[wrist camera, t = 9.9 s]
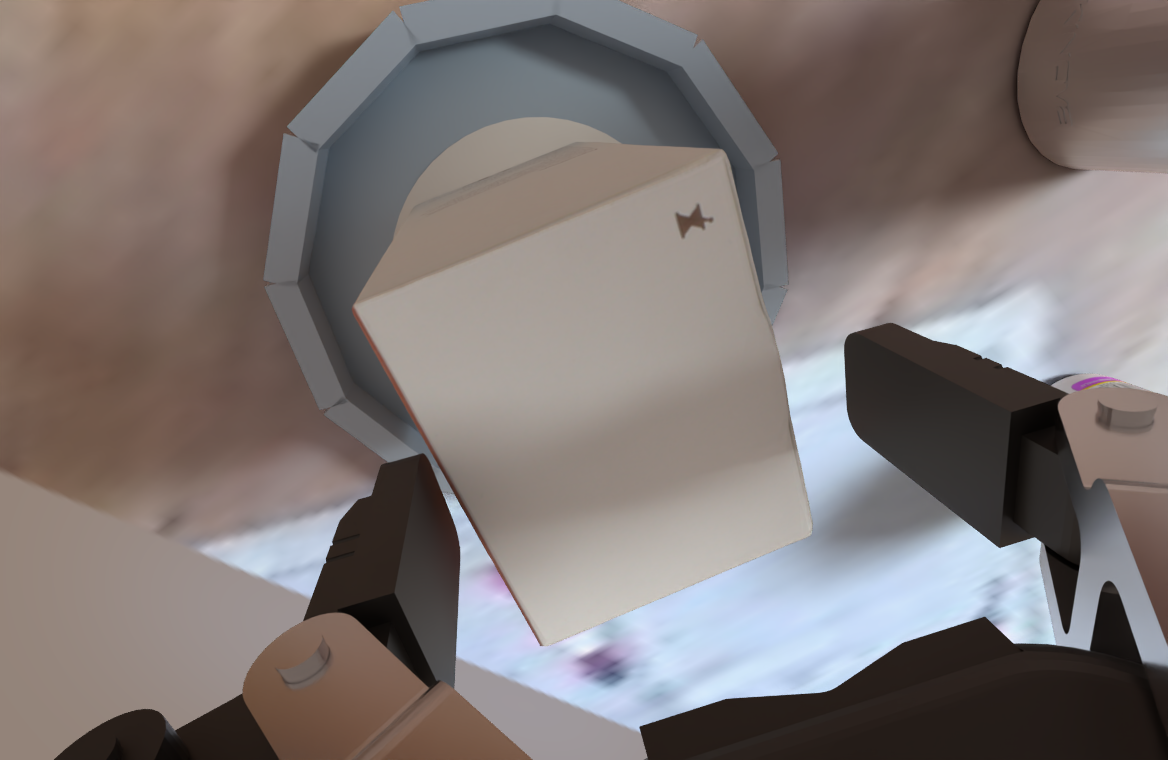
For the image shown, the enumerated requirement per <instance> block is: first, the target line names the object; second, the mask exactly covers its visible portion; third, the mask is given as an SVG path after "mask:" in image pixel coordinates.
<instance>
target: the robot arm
mask: <svg viewBox="0 0 1168 760" xmlns="http://www.w3.org/2000/svg"><path fill="white" fill-rule="evenodd" d="M1017 100H1018V105H1019V110H1020V115H1021V120H1022V123H1023V126H1024V128H1025V130H1026V132H1027V135H1028V137H1029V139H1030V141H1031V142H1032V143H1033V145H1034V146H1035V147H1036V148H1037V149H1038V151H1039V152H1040V153H1041V154H1042V155H1043V156H1044V157H1046V158H1048V159H1049V160H1051V161H1052V162H1054V163H1055V164H1057V165H1061V166H1064V167H1068V168H1072V169H1084V170H1105V171H1126V172H1146V173H1167V174H1168V0H1040V2H1039V4H1038V6H1037V8H1036V10H1035V12H1034V14H1033V16H1032V18H1031V21H1030V24H1029V27H1028V30H1027V33H1026V36H1025V39H1024V42H1023V45H1022V50H1021V56H1020V62H1019V68H1018V80H1017ZM844 357H845V378H846V400H847V412H848V417H849V420H850V423H851V425H852V427H853V429H854V431H855V432H856V434H857V435H858V436H859V437H860V439H862V440H863V441H864V442H865V443H866V444H868V445H869V446H870V447H872V448H873V449H874V450H875V451H877V452H878V453H879V454H880V455H882V456H883V457H884V458H886V459H887V460H888V461H889V462H891V463H892V464H893V465H894V466H896V467H897V468H898V469H900V470H901V471H902V472H903V473H905V474H906V475H907V476H908V477H910V478H911V479H912V480H914V481H915V482H916V483H917V484H919V485H920V486H921V487H922V488H924V489H925V490H926V491H928V492H929V493H930V494H931V495H933V496H934V497H935V498H936V499H938V500H939V501H940V502H941V503H943V504H944V505H945V506H947V507H948V508H949V509H950V510H952V511H953V512H954V513H955V514H957V515H958V516H959V517H961V518H962V519H963V520H964V521H966V522H967V523H968V524H969V525H971V526H972V527H973V528H975V529H976V530H977V531H978V532H980V533H981V534H982V535H983V536H985V537H986V538H987V539H989V540H990V541H991V542H992V543H994V544H995V545H996V546H997V547H999V548H1001V547H1005V546H1008V545H1011V544H1014V543H1017V542H1021V541H1024V540H1027V539H1030V538H1034V537H1035V538H1037V539H1038V540H1039V541H1041V548H1040V556H1039V562H1040V568H1041V573H1042V578H1043V583H1044V588H1045V592H1046V597H1047V602H1048V607H1049V612H1050V617H1051V622H1052V627H1053V632H1054V637H1055V642H1056V645H1049V644H1013V643H1012V642H1011V641H1010V640H1009V639H1008V638H1007V637H1006V636H1005V635H1004V634H1003V633H1002V632H1001V631H1000V630H998V629H997V628H996V627H995V626H994V625H993V624H992V623H991V622H990V621H989V620H988V619H987V618H986V617H982V618H979V619H976V620H973V621H970V622H967V623H964V624H960V625H957V626H954V627H951V628H948V629H945V630H942V631H938V632H935V633H932V634H929V635H926V636H923V637H920V638H916V639H913V640H910V641H907V642H904V643H902V644H900V645H899V646H897V647H896V648H894V649H893V650H891V651H890V652H888V653H887V654H885V655H884V656H882V657H881V658H879V659H878V660H876V661H875V662H873V663H872V664H870V665H869V666H867V667H866V668H865V669H863V670H862V671H860V672H859V673H857V674H856V675H854V676H853V677H851V678H850V679H848V680H847V681H845V682H844V683H842V684H841V685H839V686H838V687H836V688H834V689H832V690H830V691H827V692H822V693H810V694H795V695H779V696H764V697H748V698H733V699H725V700H722V701H718V702H715V703H712V704H709V705H706V706H703V707H700V708H696V709H693V710H690V711H687V712H684V713H681V714H678V715H674V716H671V717H668V718H665V719H662V720H659V721H656V722H652V723H649V724H646V725H643V726H640V731H641V735H642V738H643V742H644V746H645V749H646V753H647V757H648V758H646V759H645V760H1168V396H1165V395H1162V394H1158V393H1154V392H1150V391H1144V390H1138V389H1130V388H1115V387H1105V388H1091V389H1085V390H1080V391H1076V392H1073V393H1071V394H1069V393H1066V392H1064V391H1062V390H1059V389H1057V388H1055V387H1052V386H1050V385H1048V384H1045V383H1043V382H1041V381H1038V380H1036V379H1034V378H1032V377H1029V376H1027V375H1025V374H1022V373H1020V372H1018V371H1015V370H1013V369H1011V368H1008V367H1006V368H1003V367H1002V365H1001V364H999V363H997V362H994V361H992V360H990V359H987V358H985V359H982V357H981V356H980V355H978V354H976V353H974V352H971V351H969V350H967V349H964V348H962V347H960V346H957V345H953V344H948V343H942V342H937V341H932V340H930V339H928V338H926V337H923V336H921V335H919V334H917V333H914V332H912V331H910V330H908V329H905V328H903V327H901V326H899V325H896V324H894V323H887V324H883V325H880V326H876V327H872V328H869V329H865V330H862V331H858V332H855V333H851V334H850V335H848V337H847V338H846V340H845V345H844ZM332 543H333V545H332V546H330V549H329V552H328V554H327V557H326V564H324V565H323V568H322V571H321V574H320V576H319V579H318V582H317V584H316V587H315V590H314V593H313V595H312V598H311V601H310V604H309V607H308V609H307V612H306V615H305V617H304V620H303V622H301V623H299V624H297V625H295V626H294V627H292V628H290V629H289V630H287V631H286V632H284V633H283V634H281V635H280V636H279V637H278V638H276V639H275V640H274V641H273V642H272V643H271V644H270V645H268V646H267V647H266V648H265V650H264V651H263V652H262V653H261V654H260V655H259V656H258V658H257V659H256V660H255V662H254V663H253V664H252V666H251V668H250V669H249V671H248V673H247V675H246V678H245V680H244V685H243V693H242V694H241V695H239V696H237V697H236V698H234V699H232V700H230V701H228V702H227V703H225V704H223V705H221V706H219V707H217V708H216V709H214V710H212V711H210V712H208V713H206V714H204V715H203V716H201V717H199V718H197V719H195V720H193V721H192V722H190V723H188V724H186V725H185V726H182V727H181V728H179V729H177V730H174V729H173V728H172V727H171V725H170V724H169V723H168V721H167V720H166V719H165V718H164V716H163V715H162V714H161V713H159V712H158V711H155V710H152V709H141V710H135V711H131V712H128V713H124V714H122V715H120V716H117V717H115V718H113V719H110V720H108V721H106V722H104V723H102V724H101V725H99V726H97V727H96V728H94V729H92V730H91V731H89V732H88V733H86V734H85V735H83V736H82V737H81V738H79V739H78V740H76V741H75V742H74V743H73V744H71V745H70V746H69V747H68V748H66V749H65V750H64V751H63V752H62V753H61V754H60V755H58V756H57V757H56V758H55V759H54V760H532V759H531V758H530V757H529V756H528V755H527V754H526V753H525V752H524V751H522V750H521V749H520V748H519V747H518V746H517V745H516V744H515V743H513V742H512V741H511V740H510V739H509V738H508V737H507V736H505V734H503V733H502V732H501V731H500V730H499V729H498V728H496V726H494V725H493V724H492V723H491V722H490V721H489V720H488V719H487V718H486V717H484V716H483V715H482V714H481V713H480V712H479V711H478V710H477V709H476V708H474V707H473V706H472V705H471V704H470V703H469V702H468V701H467V700H465V699H464V698H463V697H462V696H461V695H460V694H459V693H458V692H457V691H455V690H454V683H455V661H456V639H457V618H458V596H459V575H460V546H459V540H458V535H457V531H456V528H455V524H454V522H453V519H452V516H451V514H450V511H449V509H448V506H447V504H446V501H445V499H444V496H443V494H442V491H441V489H440V486H439V483H438V481H437V478H436V476H435V473H434V471H433V468H432V466H431V463H430V461H429V459H428V458H427V456H426V455H425V454H424V453H421V454H418V455H414V456H411V457H407V458H404V459H400V460H397V461H393V462H389V463H386V464H383V465H381V467H380V470H379V473H378V476H377V480H376V483H375V486H374V489H373V493H372V496H369V497H366V498H362V499H358V500H357V502H356V503H355V504H354V505H353V506H352V507H351V508H350V510H349V511H348V512H347V513H346V514H345V515H344V517H343V518H342V519H341V520H340V522H339V524H338V527H337V530H336V533H335V535H334V538H333V541H332Z"/></svg>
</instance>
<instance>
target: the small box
mask: <svg viewBox="0 0 1168 760" xmlns="http://www.w3.org/2000/svg"><path fill="white" fill-rule="evenodd" d="M352 312H353V315H354V317H355V318H356V320H357V322H358V324H359V326H360V327H361V329H362V331H363V333H364V335H365V336H366V338H367V340H368V342H369V343H370V345H371V347H372V349H373V351H374V352H375V354H376V356H377V358H378V360H379V361H380V363H381V365H382V367H383V368H384V370H385V372H386V374H387V376H388V377H389V379H390V381H391V383H392V384H393V386H394V388H395V390H396V392H397V393H398V395H399V397H400V399H401V400H402V402H403V404H404V406H405V407H406V409H407V411H408V413H409V414H410V416H411V418H412V420H413V421H414V423H415V425H416V427H417V428H418V430H419V432H420V434H421V435H422V437H423V439H424V441H425V443H426V444H427V446H428V448H429V450H430V452H431V453H432V455H433V457H434V459H435V461H436V462H437V464H438V466H439V468H440V469H441V471H442V473H443V475H444V476H445V478H446V480H447V482H448V483H449V485H450V487H451V489H452V491H453V492H454V494H455V496H456V498H457V500H458V501H459V503H460V505H461V507H462V509H463V510H464V512H465V514H466V516H467V517H468V519H469V521H470V522H471V524H472V526H473V528H474V530H475V532H476V534H477V535H478V537H479V539H480V541H481V542H482V544H483V546H484V548H485V549H486V551H487V553H488V555H489V556H490V558H491V559H492V561H493V563H494V565H495V567H496V568H497V570H498V572H499V574H500V575H501V577H502V579H503V581H504V582H505V584H506V586H507V588H508V589H509V591H510V593H511V595H512V596H513V598H514V600H515V602H516V603H517V605H518V607H519V609H520V610H521V612H522V614H523V616H524V617H525V619H526V621H527V623H528V625H529V626H530V628H531V630H532V632H533V633H534V635H535V637H536V638H537V640H538V642H539V644H540V646H549V645H552V644H555V643H557V642H559V641H562V640H564V639H566V638H568V637H571V636H573V635H576V634H578V633H580V632H583V631H585V630H588V629H590V628H592V627H595V626H597V625H599V624H602V623H604V622H606V621H608V620H611V619H613V618H615V617H618V616H620V615H623V614H625V613H628V612H630V611H632V610H635V609H637V608H639V607H642V606H644V605H646V604H649V603H651V602H654V601H656V600H659V599H661V598H663V597H666V596H668V595H670V594H673V593H675V592H678V591H680V590H682V589H685V588H687V587H689V586H692V585H694V584H696V583H699V582H701V581H703V580H706V579H708V578H710V577H713V576H715V575H717V574H720V573H722V572H725V571H727V570H729V569H732V568H734V567H737V566H739V565H741V564H744V563H746V562H748V561H751V560H753V559H756V558H758V557H760V556H763V555H765V554H768V553H770V552H772V551H775V550H777V549H780V548H782V547H784V546H787V545H789V544H792V543H794V542H797V541H799V540H802V539H805V538H807V537H808V536H810V535H811V533H812V525H813V522H812V518H811V513H810V507H809V501H808V497H807V492H806V488H805V483H804V478H803V472H802V467H801V463H800V459H799V454H798V450H797V445H796V440H795V436H794V431H793V426H792V421H791V417H790V411H789V405H788V398H787V391H786V384H785V378H784V373H783V369H782V364H781V360H780V356H779V351H778V348H777V345H776V341H775V336H774V332H773V328H772V325H771V321H770V318H769V316H768V313H767V310H766V307H765V304H764V300H763V297H762V294H761V289H760V285H759V281H758V277H757V273H756V269H755V265H754V261H753V257H752V253H751V248H750V244H749V239H748V236H747V232H746V228H745V225H744V221H743V217H742V213H741V208H740V204H739V199H738V195H737V191H736V187H735V183H734V179H733V174H732V170H731V165H730V162H729V159H728V157H727V154H726V153H725V151H724V150H723V149H712V148H692V147H672V146H648V145H631V144H618V143H603V142H574V143H572V144H569V145H567V146H564V147H562V148H559V149H556V150H554V151H551V152H549V153H546V154H544V155H541V156H539V157H536V158H534V159H531V160H529V161H526V162H524V163H521V164H519V165H516V166H514V167H511V168H509V169H506V170H504V171H501V172H499V173H496V174H494V175H491V176H489V177H486V178H484V179H481V180H479V181H476V182H474V183H471V184H468V185H466V186H463V187H461V188H458V189H456V190H453V191H450V192H448V193H445V194H443V195H440V196H438V197H435V198H433V199H430V200H428V201H425V202H423V203H420V204H418V205H416V206H414V207H413V209H412V210H411V212H410V214H409V215H408V217H407V218H406V220H405V221H404V223H403V224H402V226H401V227H400V229H399V231H398V232H397V234H396V236H395V238H394V239H393V241H392V243H391V244H390V246H389V247H388V249H387V251H386V252H385V254H384V255H383V257H382V259H381V260H380V262H379V263H378V265H377V267H376V268H375V270H374V272H373V273H372V275H371V277H370V278H369V280H368V281H367V283H366V285H365V287H364V288H363V290H362V291H361V293H360V295H359V296H358V298H357V300H356V302H355V303H354V304H353V306H352Z"/></svg>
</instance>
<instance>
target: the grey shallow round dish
mask: <svg viewBox="0 0 1168 760" xmlns="http://www.w3.org/2000/svg"><path fill="white" fill-rule="evenodd" d="M400 11H401V14H402V17H403V21H404V22H403V21H402V20H401V19H400V18H399V17H398V16H397V15H396V13H395V12H394V11H392V12H391V13H390V14H389V15H388V16H387V17H386V19H385V20H384V21H383V22H382V23H381V24H380V25H379V26H378V27H377V28H376V29H375V31H374V32H373V33H372V34H371V35H370V36H369V37H368V38H367V39H366V40H365V42H364V43H363V44H362V45H361V46H360V47H359V48H358V49H357V50H356V51H355V52H354V54H353V55H352V56H351V57H350V58H349V59H348V60H347V61H346V62H345V63H344V64H343V66H342V67H341V68H340V69H339V70H338V71H337V72H336V73H335V74H334V75H333V77H332V78H331V79H330V80H329V81H328V82H327V83H326V84H325V85H324V86H323V87H322V89H321V90H320V91H319V92H318V93H317V94H316V95H315V96H314V97H313V98H312V100H311V101H310V102H309V103H308V104H307V105H306V106H305V107H304V108H303V109H302V110H301V112H300V113H299V114H298V115H297V116H296V117H295V118H294V119H293V120H292V121H291V122H290V124H289V125H288V126H287V128H289V129H290V130H291V131H292V132H293V133H294V134H290V133H284V134H283V141H282V149H281V156H280V163H279V170H278V177H277V184H276V192H275V199H274V206H273V213H272V220H271V228H270V235H269V242H268V249H267V256H266V263H265V271H264V278H263V280H264V281H268V282H270V283H269V284H267V285H266V286H265V287H264V288H265V290H266V292H267V294H268V297H269V299H270V301H271V303H272V305H273V308H274V310H275V312H276V314H277V317H278V319H279V321H280V323H281V326H282V328H283V330H284V332H285V334H286V337H287V339H288V341H289V343H290V346H291V348H292V350H293V352H294V354H295V357H296V359H297V361H298V363H299V366H300V368H301V370H302V372H303V374H304V377H305V379H306V381H307V383H308V386H309V388H310V390H311V392H312V394H313V397H314V399H315V401H316V403H317V406H318V408H319V410H322V409H326V408H327V409H326V411H325V413H324V416H326V417H327V418H328V419H330V420H331V421H333V422H334V423H335V424H337V425H338V426H339V427H341V428H342V429H343V430H345V431H346V432H347V433H349V434H350V435H352V436H353V437H354V438H356V439H357V440H358V441H360V442H361V443H362V444H364V445H365V446H367V447H368V448H369V449H371V450H372V451H373V452H375V453H376V454H377V455H379V456H380V457H382V458H383V459H384V460H386V461H387V462H388V463H389V462H393V461H397V460H400V459H404V458H407V457H411V456H414V455H418V454H421V453H424V454H425V455H426V456H427V458H428V459H429V461H430V463H431V466H432V468H433V471H434V473H435V476H436V478H437V481H438V483H439V486H440V489H441V491H442V492H446V493H452V494H454V492H453V491H452V489H451V487H450V485H449V483H448V482H447V480H446V478H445V476H444V475H443V473H442V471H441V469H440V468H439V466H438V464H437V462H436V461H435V459H434V457H433V455H432V453H431V452H430V450H429V448H428V446H427V444H426V443H425V441H424V439H423V437H422V435H421V434H420V432H419V430H418V428H417V427H416V425H415V423H414V421H413V420H412V418H411V416H410V414H409V413H408V411H407V409H406V407H405V406H404V404H403V402H402V400H401V399H400V397H399V395H398V393H397V392H396V390H395V388H394V386H393V384H392V383H391V381H390V379H389V377H388V376H387V374H386V372H385V370H384V368H383V367H382V365H381V363H380V361H379V360H378V358H377V356H376V354H375V352H374V351H373V349H372V347H371V345H370V343H369V342H368V340H367V338H366V336H365V335H364V333H363V331H362V329H361V327H360V326H359V324H358V322H357V320H356V318H355V317H354V315H353V312H352V306H353V304H354V303H355V302H356V300H357V298H358V296H359V295H360V293H361V291H362V290H363V288H364V287H365V285H366V283H367V281H368V280H369V278H370V277H371V275H372V273H373V272H374V270H375V268H376V267H377V265H378V263H379V262H380V260H381V259H382V257H383V255H384V254H385V252H386V251H387V249H388V247H389V246H390V244H391V243H392V241H393V239H394V238H395V236H396V234H397V232H398V231H399V229H400V227H401V226H402V224H403V223H404V221H405V220H406V218H407V217H408V215H409V214H410V212H411V210H412V209H413V207H414V206H416V205H418V204H420V203H423V202H425V201H428V200H430V199H433V198H435V197H438V196H440V195H443V194H445V193H448V192H450V191H453V190H456V189H458V188H461V187H463V186H466V185H468V184H471V183H474V182H476V181H479V180H481V179H484V178H486V177H489V176H491V175H494V174H496V173H499V172H501V171H504V170H506V169H509V168H511V167H514V166H516V165H519V164H521V163H524V162H526V161H529V160H531V159H534V158H536V157H539V156H541V155H544V154H546V153H549V152H551V151H554V150H556V149H559V148H562V147H564V146H567V145H569V144H572V143H574V142H603V143H618V144H631V145H648V146H672V147H692V148H712V149H723V150H724V151H725V153H726V154H727V157H728V159H729V162H730V165H731V170H732V174H733V179H734V183H735V187H736V191H737V195H738V199H739V204H740V208H741V213H742V217H743V221H744V225H745V228H746V232H747V236H748V239H749V244H750V248H751V253H752V257H753V261H754V265H755V269H756V273H757V277H758V281H759V285H760V289H761V294H762V297H763V300H764V304H765V307H766V310H767V313H768V316H769V318H770V321H771V325H773V323H774V320H775V318H776V316H777V313H778V311H779V309H780V306H781V304H782V302H783V299H784V297H785V295H786V292H787V289H785V288H783V287H781V286H784V285H788V284H789V282H788V267H787V252H786V237H785V222H784V206H783V191H782V176H781V161H780V159H773V158H774V157H775V156H776V155H777V154H778V152H777V151H776V149H775V147H774V146H773V144H772V143H771V141H770V140H769V138H768V137H767V135H766V134H765V132H764V131H763V129H762V128H761V126H760V125H759V123H758V122H757V120H756V119H755V117H754V116H753V114H752V113H751V111H750V110H749V108H748V107H747V105H746V104H745V102H744V101H743V99H742V98H741V96H740V95H739V93H738V92H737V90H736V89H735V87H734V86H733V84H732V83H731V81H730V80H729V78H728V77H727V75H726V74H725V72H724V71H723V69H722V68H721V66H720V65H719V63H718V62H717V60H716V59H715V57H714V56H713V54H712V53H711V51H710V50H709V48H708V47H707V45H706V43H705V42H704V40H703V39H702V40H700V41H697V42H695V41H696V38H697V34H694V33H692V32H690V31H687V30H685V29H683V28H681V27H678V26H676V25H674V24H671V23H669V22H667V21H664V20H662V19H660V18H658V17H655V16H653V15H651V14H648V13H646V12H644V11H641V10H639V9H637V8H635V7H632V6H630V5H628V4H625V3H623V2H621V1H619V0H429V1H424V2H420V3H415V4H410V5H405V6H400Z"/></svg>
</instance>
